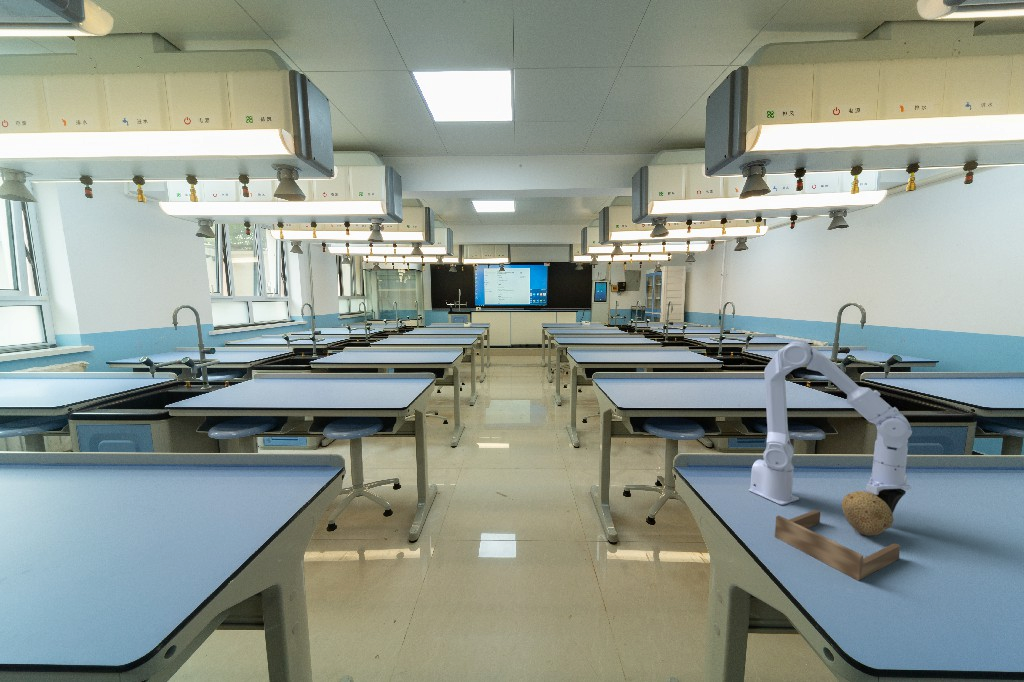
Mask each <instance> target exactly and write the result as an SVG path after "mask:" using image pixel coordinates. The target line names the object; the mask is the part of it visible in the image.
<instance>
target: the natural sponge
mask: <svg viewBox="0 0 1024 682" xmlns="http://www.w3.org/2000/svg"><path fill="white" fill-rule="evenodd" d="M841 508H842V511H843V514H844V517H845V519H846V520H847V522H848V524H849V526H851V527H852V528H853V529H854V530H855V531H856V532H858V533H859V534H861V535H863V536H877V535H880V534H882V533H883V532H884V531H885V530H888V529H889V528H890V527H892V525H893V523H894V513H893V514H892V511H891V509H890V508H889V506H888V505H887V504H886V503H885V502H884V501H883V500H882V499H881V498H879V497H878V496H876V495H874V494H872V493H870V492H867V491H866V490H865V491H863V490H861V491H860V490H859V491H856V490H855V491H853V492H850V493H848V494H846V495H845V496H844V497H843V498H842V502H841Z"/></svg>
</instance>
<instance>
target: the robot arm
mask: <svg viewBox="0 0 1024 682" xmlns="http://www.w3.org/2000/svg"><path fill="white" fill-rule="evenodd" d="M805 365H807V367H806V369H807V370H810V371H815V372H819V373H821V375H823V376H824V377H825V378H826V379H828V380H829V381H830V382H832V383H833V384H834V385H835V386H837V388H838V389H840V390H841V391H842V392H843V393H844V394H846V396H847V397H846V402H847V403H848V404H849V405H850V406H851V407H852V408H853V409H854V410H855V411H856V412H858V414H859V415H861V416H862V417H863V418H864V419H866V421H867V422H869V423H872V424H874V425H875V426H876V430H877V433H876V440H875V441H874V451H873V459H872V470H871V475H870V478H869V482H868V483H866V490H865V492H869V493H872V494H874V495H876V496H878V497H879V498H881V499H882V500H883V501H884V502H885V503H886V504H887V505H888V506H889V508H890V509H891V511H892V514H893V515H894V512H895V509H896V507H897V505H898V503H899V501H900V500H901V499H902V497H904V496H905V495H906V492H907V491H908V490H911V487H912V486H911V485H909V484H907V482H908V475H906V472H907V471H906V470H907V469H906V468H907V459H908V451H909V447H908V444H909V438H911V436H912V433H913V430H912V427H911V425H910V423H909V421H908V419H907V417H905V415H904V414H903V413H901V412H899V409H898V408H897V407H896V406H894V407H892V406H891V405H890V403H888V402H886V401H885V400H884V399H883V398H882V397H880V396H881V393H880V391H878V390H876V389H875V390H872V389H871V388H870V387H863V386H859V385H858V384H857V383H856V382H855V381H853V380H852V379H851V378H850V377H849V375H847V374H846V373H845V372H844V371H843V370H842V369H841V368H840V367H839V366H837V365H836V364H835V363H834V362H833V361H832V360H831V359H829V357H827V356H826V355H824V354H823V353H822V352H820V351H819V350H818V349H816V348H813V347H812V346H811V345H810V344H809V343H808V342H806V341H803V340H794V341H791V342H789V343H788V344H786V345H785V346H783V347H782V348H781V349H779V350H777V352H776V353H775V355H774V356H773V357H772V359H771V360H770V361H769V362H768V364H767V365H766V366H765V368H764V374H763V375H764V389H765V404H766V405H765V408H766V424H767V427H766V428H767V435H766V447H765V450H764V451H763V454H762V457H763V459H756V460H755V461H754V463H753V465H752V466H751V472H750V473H751V474H750V475H751V476H750V486H749V487H750V488H748V491H750V492H752V493H754V494H756V495H758V496H759V497H762V498H765V499H767V500H769V501H771V502H774V503H776V504H778V505H781V506H784V505H786V504H790V503H793V502H796V501H798V500H799V499H800V497H799V496H796V495H793V483H794V482H793V481H794V469H795V466H794V465H793V463H792V459H793V457H794V454H795V449H794V446H793V444H792V443H791V440H790V434H789V428H788V427H789V425H788V410H787V409H788V405H787V388H786V376H787V375H788V374H789V373H791V372H792V371H793V370H796V369H798V368H801V367H803V366H805ZM906 490H907V491H906Z"/></svg>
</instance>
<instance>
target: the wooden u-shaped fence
mask: <svg viewBox="0 0 1024 682" xmlns="http://www.w3.org/2000/svg"><path fill="white" fill-rule="evenodd" d="M820 522H821V511H820V510H818V509H813V510H811V511H808V512H806V513H804V514H800V515H797V516H795V517H793V518H790V519H788V518H785V517H783V516H781V515H776V516H775V529H774V537H775V538H776V539H778V540H780V541H782V542H784V543H785V544H788V545H790V546H791V547H794V548H795V549H797V550H799V551H801V552H803V553H805V554H806V555H809V556H811V557H812V558H814V559H816V560H818V561H820V562H822V563H824V564H826V565H828V566H830V567H831V568H834V569H835V570H838V571H839V572H841V573H842V574H844V575H846V576H848V577H851V578H852V579H853V580H856V581H858V582H859V581H861V580H862V578H863V579H865V578H866V577H868V576H870V575H872V574H874V573H876V572H877V570H878V571H879V570H881V569H883V568H885V567H886V566H889V565H891V564H892V563H894V562H897V561H898V560H899V559H900V553H901V545H899V544H897V543H896V542H894V543H891V544H890V545H887V546H885V547H883V548H881V549H880V550H878V551H875V552H874V553H871V554H869V555H867V556H865V557H864V555H863V554H861V553H859V552H857V551H854V550H853V549H851V548H848V547H846V546H844V545H842V544H840V543H838V542H836V541H833V540H832V539H829V538H827V537H826V536H823V535H821V534H819V533H817V532H815V531H814V530H810V529H809V528H810V527H813V526H815V525H818V524H820ZM875 571H876V572H875ZM873 572H874V573H873ZM871 573H872V574H871ZM864 577H865V578H864Z"/></svg>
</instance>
